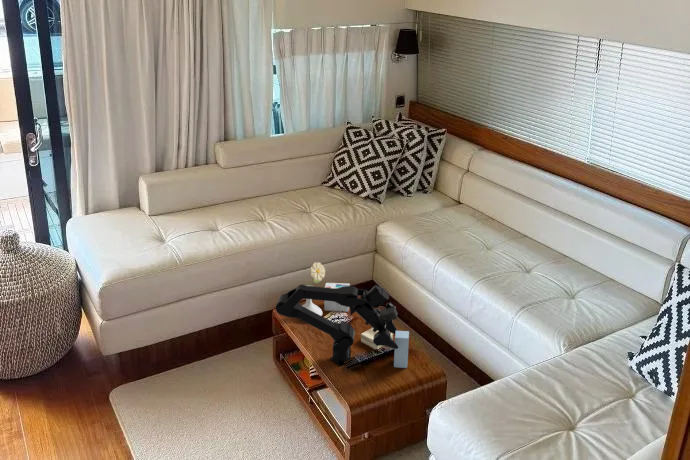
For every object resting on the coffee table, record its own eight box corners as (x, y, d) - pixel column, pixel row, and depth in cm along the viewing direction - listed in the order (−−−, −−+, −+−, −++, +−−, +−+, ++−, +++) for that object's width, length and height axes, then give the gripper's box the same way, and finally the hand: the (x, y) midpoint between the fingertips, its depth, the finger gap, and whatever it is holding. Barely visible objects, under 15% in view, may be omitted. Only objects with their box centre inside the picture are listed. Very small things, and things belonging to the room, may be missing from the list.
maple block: (377, 351, 266) (377, 342, 264) (361, 342, 271) (361, 333, 270) (392, 342, 271) (393, 333, 270) (376, 333, 277) (376, 325, 276)
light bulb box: (349, 304, 299) (350, 282, 295) (348, 312, 293) (348, 290, 288) (325, 303, 300) (325, 281, 295) (323, 311, 294) (323, 289, 289)
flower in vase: (302, 325, 282) (301, 272, 272) (291, 313, 291) (290, 261, 282) (330, 318, 288) (330, 265, 278) (319, 306, 297) (318, 255, 287)
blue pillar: (393, 367, 255) (394, 337, 250) (394, 359, 260) (395, 330, 255) (407, 368, 255) (408, 338, 250) (407, 360, 259) (409, 331, 254)
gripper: (383, 314, 239) (413, 343, 242) (386, 289, 256) (414, 316, 259) (360, 331, 243) (390, 360, 246) (365, 306, 260) (393, 332, 263)
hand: (398, 341), depth 254 cm, fingers open, 9 cm apart
